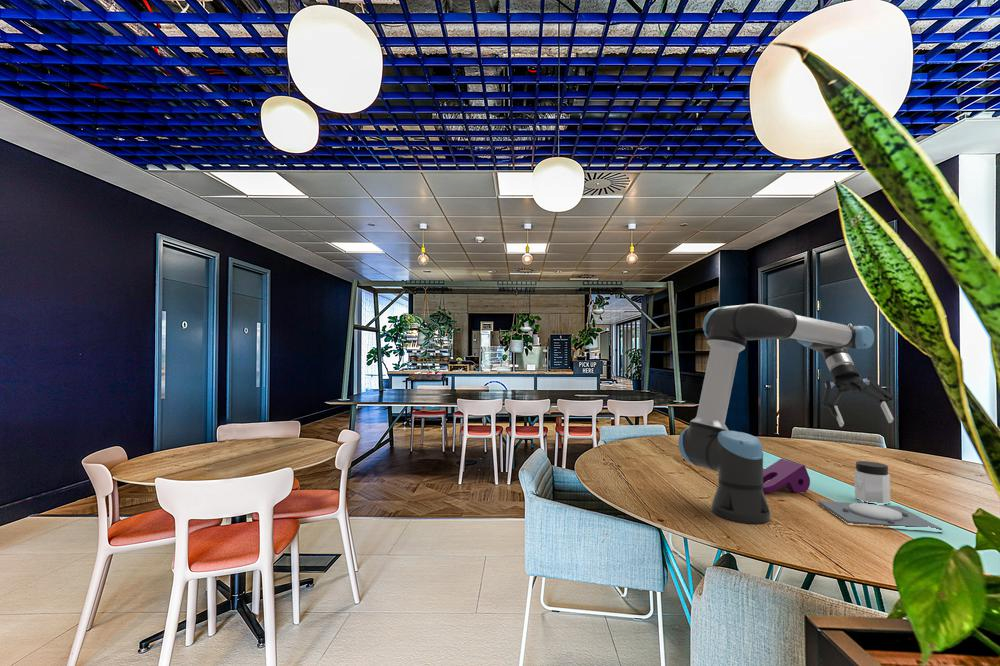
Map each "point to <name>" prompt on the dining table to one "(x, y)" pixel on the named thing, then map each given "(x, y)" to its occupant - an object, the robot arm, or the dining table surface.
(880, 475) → the jar
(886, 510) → the board
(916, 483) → the dining table surface
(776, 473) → the mounting bracket
